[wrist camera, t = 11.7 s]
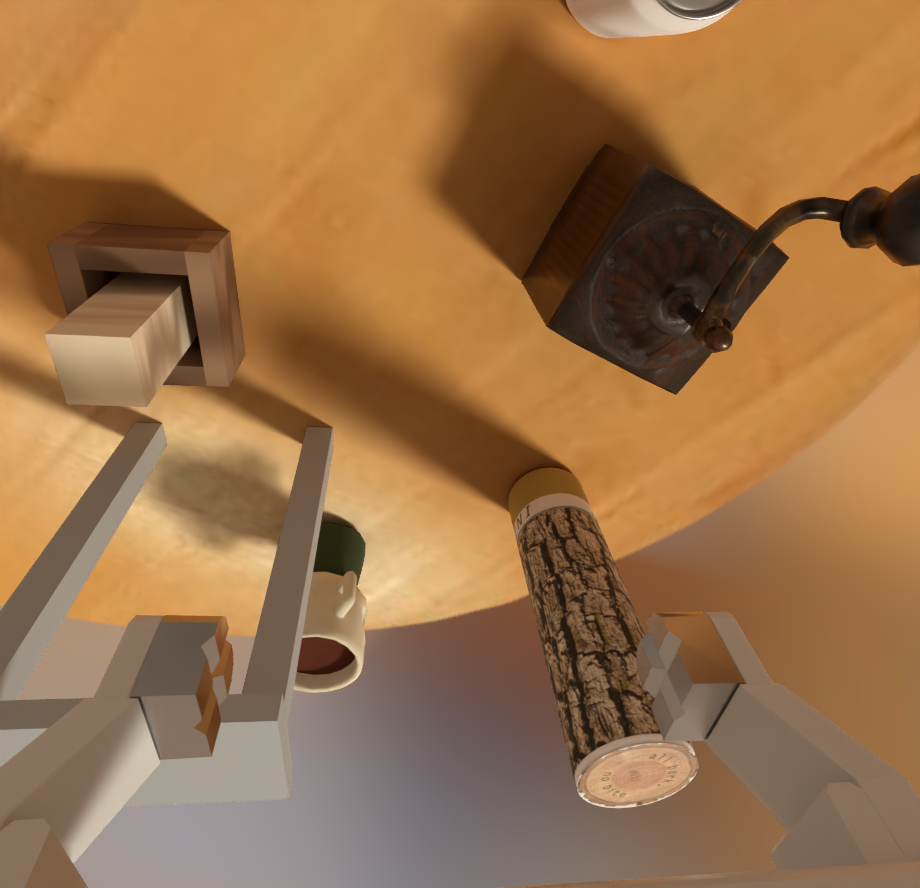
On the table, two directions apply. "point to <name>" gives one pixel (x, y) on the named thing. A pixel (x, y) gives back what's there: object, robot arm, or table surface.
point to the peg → (124, 340)
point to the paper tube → (592, 648)
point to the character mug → (333, 614)
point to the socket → (163, 252)
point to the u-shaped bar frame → (274, 651)
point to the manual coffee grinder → (680, 262)
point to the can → (647, 16)
